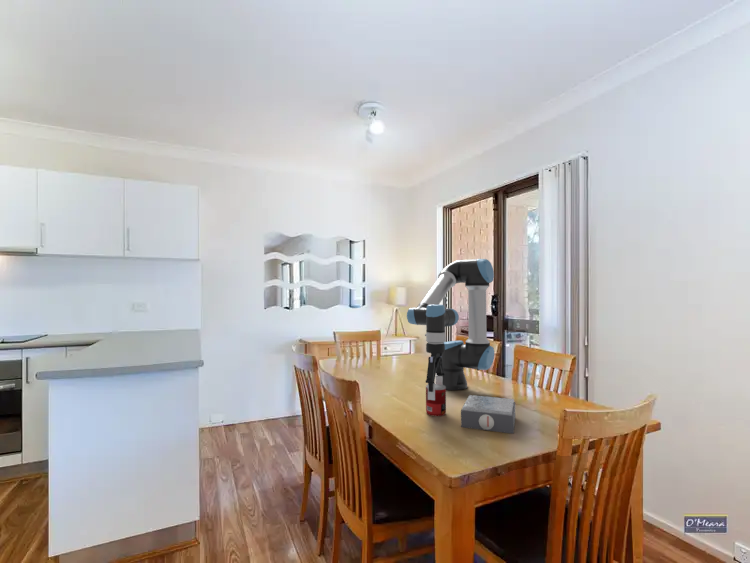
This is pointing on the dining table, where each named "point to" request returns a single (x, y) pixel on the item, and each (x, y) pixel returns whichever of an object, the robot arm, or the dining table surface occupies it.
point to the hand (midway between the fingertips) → (435, 395)
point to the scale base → (488, 421)
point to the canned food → (436, 401)
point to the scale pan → (489, 405)
